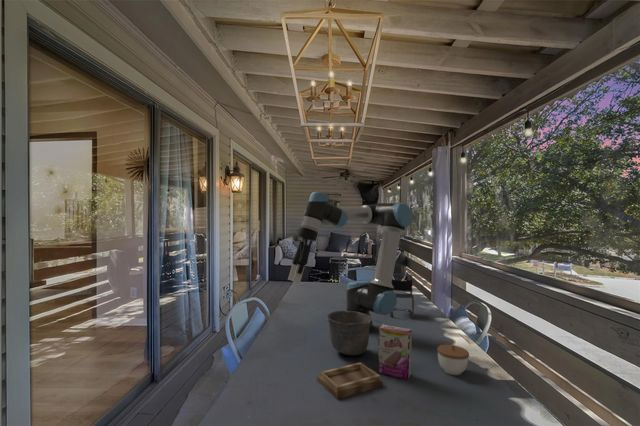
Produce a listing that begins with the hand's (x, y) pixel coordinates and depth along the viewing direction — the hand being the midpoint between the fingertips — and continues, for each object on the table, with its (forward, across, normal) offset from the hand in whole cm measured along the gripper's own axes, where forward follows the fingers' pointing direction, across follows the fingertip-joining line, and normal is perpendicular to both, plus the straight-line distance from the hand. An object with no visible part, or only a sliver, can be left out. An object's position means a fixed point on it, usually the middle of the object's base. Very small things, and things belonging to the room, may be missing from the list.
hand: (293, 281), depth 125 cm
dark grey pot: (+21, -7, +32) cm, 39 cm away
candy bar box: (+21, +12, +43) cm, 49 cm away
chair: (+1, -53, +74) cm, 91 cm away
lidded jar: (+14, +14, +64) cm, 67 cm away
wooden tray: (+26, +15, +26) cm, 40 cm away
